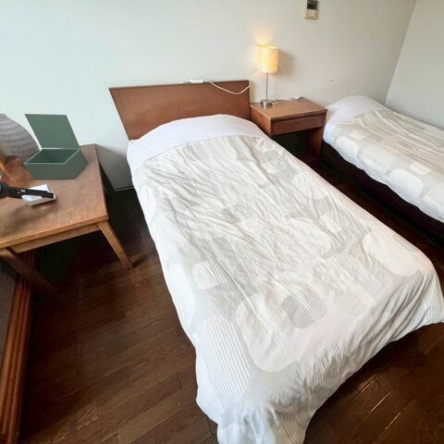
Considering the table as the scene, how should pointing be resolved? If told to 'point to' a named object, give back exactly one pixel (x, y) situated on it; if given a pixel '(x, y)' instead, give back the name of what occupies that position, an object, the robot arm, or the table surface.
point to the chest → (56, 164)
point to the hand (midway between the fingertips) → (37, 196)
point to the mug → (38, 199)
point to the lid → (52, 130)
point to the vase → (17, 139)
